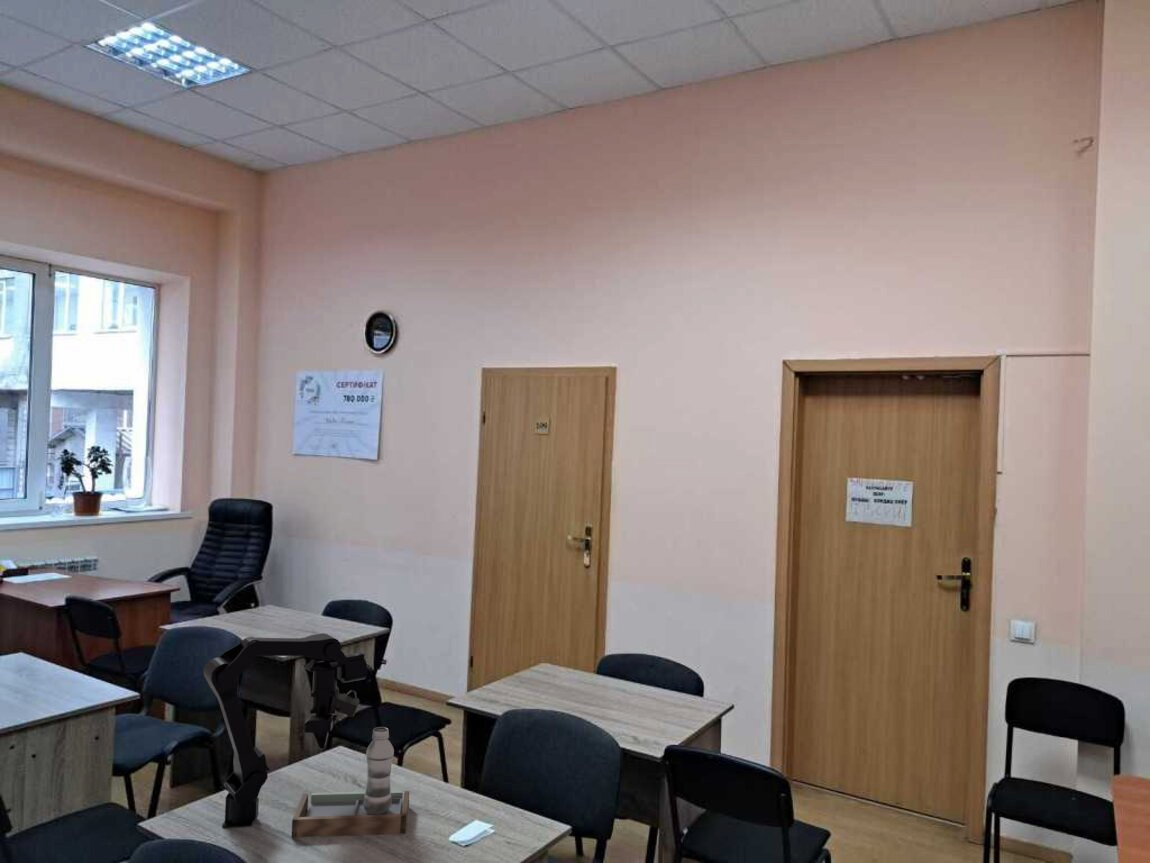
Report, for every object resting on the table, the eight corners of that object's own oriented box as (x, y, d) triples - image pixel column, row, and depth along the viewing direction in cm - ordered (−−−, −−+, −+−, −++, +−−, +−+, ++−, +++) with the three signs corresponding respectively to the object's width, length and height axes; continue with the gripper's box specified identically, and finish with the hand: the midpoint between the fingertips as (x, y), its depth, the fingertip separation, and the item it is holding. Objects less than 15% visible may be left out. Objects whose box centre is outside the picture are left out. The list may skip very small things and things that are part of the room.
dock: (291, 837, 181) (292, 819, 181) (302, 810, 194) (303, 793, 194) (405, 833, 185) (406, 816, 185) (408, 807, 198) (409, 791, 198)
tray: (301, 830, 184) (302, 818, 184) (311, 804, 197) (312, 793, 197) (398, 827, 187) (399, 815, 187) (402, 801, 200) (402, 790, 200)
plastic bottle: (370, 804, 196) (374, 723, 197) (396, 808, 195) (399, 726, 195) (357, 816, 190) (361, 732, 190) (383, 821, 189) (387, 736, 189)
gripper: (352, 697, 192) (350, 762, 192) (362, 674, 211) (359, 733, 211) (304, 698, 191) (302, 763, 191) (318, 674, 209) (316, 734, 209)
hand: (322, 747), depth 200 cm, fingers closed
